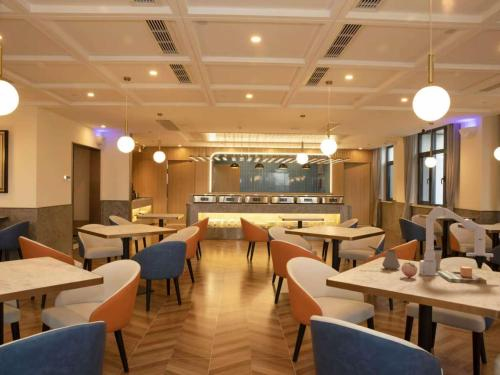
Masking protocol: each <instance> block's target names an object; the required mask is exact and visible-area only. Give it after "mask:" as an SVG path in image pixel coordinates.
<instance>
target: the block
mask: <svg viewBox="0 0 500 375" xmlns="http://www.w3.org/2000/svg"><path fill="white" fill-rule="evenodd" d="M459 268H460V270H459V272H460V275H462V276H470V277H472V273H473V268H472V267H470V266H460V267H459Z"/></svg>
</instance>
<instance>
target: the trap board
mask: <svg viewBox="0 0 500 375" xmlns="http://www.w3.org/2000/svg"><path fill="white" fill-rule="evenodd" d="M437 275H439V276H441V278H443V279H445V280H447V281H448V282H449V283H467V284H483V285H484V284H485V285H486V284H487V279H485V278H483V277H481V276H479V275H477V274H475V273H473V272H472V277H470V276H462V275H460V271H450V270H449V271H448V270H447V271H445V270H437Z"/></svg>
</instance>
